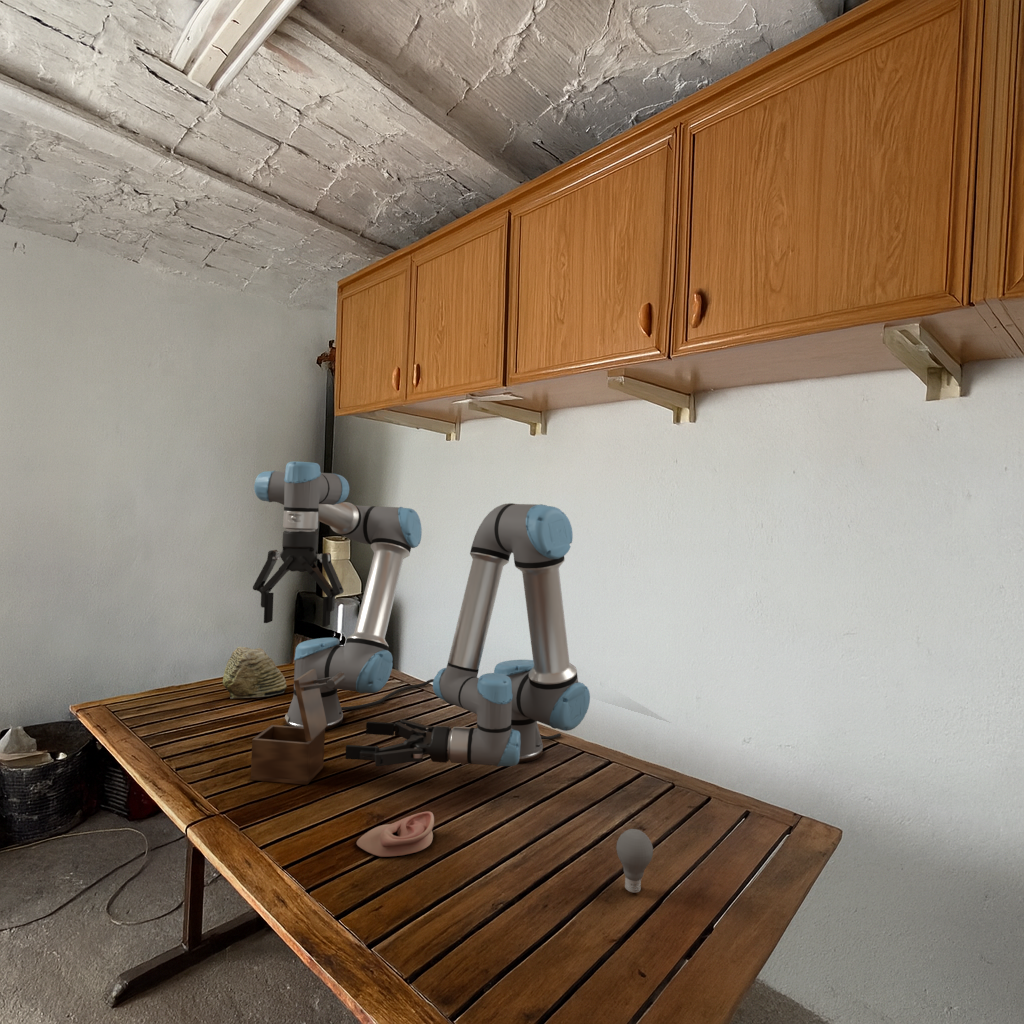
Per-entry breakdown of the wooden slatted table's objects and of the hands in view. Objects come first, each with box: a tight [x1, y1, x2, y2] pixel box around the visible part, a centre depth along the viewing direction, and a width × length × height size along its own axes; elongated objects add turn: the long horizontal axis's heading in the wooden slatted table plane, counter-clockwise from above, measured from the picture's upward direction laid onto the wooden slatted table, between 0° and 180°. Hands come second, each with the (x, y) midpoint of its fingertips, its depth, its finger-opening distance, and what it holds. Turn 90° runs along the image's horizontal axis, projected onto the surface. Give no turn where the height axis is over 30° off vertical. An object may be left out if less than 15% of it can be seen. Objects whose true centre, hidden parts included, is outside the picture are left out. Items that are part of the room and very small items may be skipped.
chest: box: [250, 724, 326, 786], centre depth 144 cm, size 13×9×9 cm
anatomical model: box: [356, 811, 435, 858], centre depth 118 cm, size 13×4×12 cm
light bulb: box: [615, 828, 654, 894], centre depth 106 cm, size 6×6×10 cm
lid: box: [293, 669, 345, 741], centre depth 143 cm, size 14×9×8 cm
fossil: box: [222, 646, 288, 699], centre depth 198 cm, size 9×18×15 cm, turn 132°
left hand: (297, 624), depth 143 cm, fingers open, 13 cm apart
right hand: (356, 739), depth 142 cm, fingers open, 13 cm apart
